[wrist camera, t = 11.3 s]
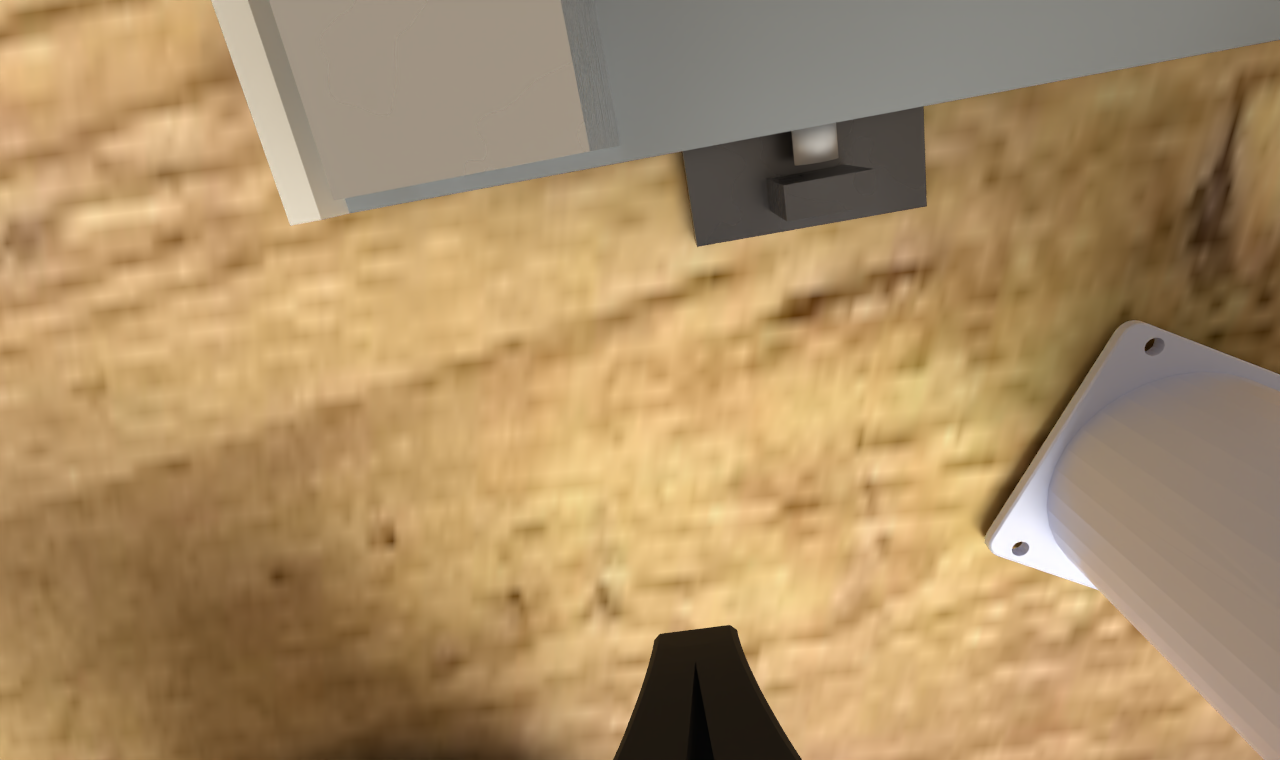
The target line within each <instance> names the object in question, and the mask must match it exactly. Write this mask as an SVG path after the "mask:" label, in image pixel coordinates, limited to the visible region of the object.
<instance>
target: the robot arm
mask: <svg viewBox="0 0 1280 760" xmlns="http://www.w3.org/2000/svg"><path fill="white" fill-rule="evenodd" d="M1153 338H1154V340H1155V341H1154V344H1153V346H1152V347H1151V348H1150V349H1149V350H1147V351H1145V349H1144V348H1145V345H1146V343H1147V342H1148V341H1149V340H1150V339H1153ZM1018 542H1022V544H1021V545H1020V546H1019V547H1017V548H1014V549H1012V547H1013V546H1014V545H1015V544H1016V543H1018ZM985 544H986V545H987V547H988V548H989V549H990V551H991V552H992V553H993V554H995V555H997V556H999V557H1002V558H1005V559H1008V560H1011V561H1014V562H1017V563H1020V564H1023V565H1026V566H1029V567H1032V568H1035V569H1038V570H1041V571H1044V572H1046V573H1049V574H1052V575H1055V576H1058V577H1061V578H1064V579H1067V580H1070V581H1073V582H1076V583H1079V584H1082V585H1085V586H1088V587H1091V588H1094V589H1097V590H1099V591H1100V592H1101V593H1102V594H1103V595H1104V596H1105V597H1106V598H1107V599H1108V600H1109V601H1110V602H1111V603H1112V604H1113V605H1114V606H1115V607H1116V608H1117V609H1118V610H1119V611H1120V612H1121V613H1122V614H1123V615H1124V616H1125V618H1126V619H1127V620H1128V621H1129V622H1130V623H1131V624H1132V625H1133V626H1134V627H1135V628H1136V629H1137V630H1138V631H1139V632H1140V633H1141V634H1142V635H1143V636H1144V637H1145V638H1146V639H1147V640H1148V641H1149V642H1150V643H1151V644H1152V645H1153V646H1154V647H1155V648H1156V649H1157V650H1158V651H1159V652H1160V653H1161V654H1162V655H1163V656H1164V657H1165V659H1166V660H1167V661H1168V662H1169V663H1170V664H1171V665H1172V666H1173V667H1174V668H1175V669H1176V670H1177V671H1178V672H1179V673H1180V674H1181V675H1182V676H1183V677H1184V678H1185V679H1186V680H1187V681H1188V682H1189V683H1190V684H1191V685H1192V686H1193V687H1194V688H1195V689H1196V690H1197V691H1198V692H1199V693H1200V694H1201V695H1202V696H1203V697H1204V698H1205V700H1206V701H1207V702H1208V703H1209V704H1210V705H1211V706H1212V707H1213V708H1214V709H1215V710H1216V711H1217V712H1218V713H1219V714H1220V715H1221V716H1222V717H1223V718H1224V719H1225V720H1226V721H1227V722H1228V723H1229V724H1230V725H1231V726H1232V727H1233V728H1234V729H1235V730H1236V731H1237V732H1238V733H1239V734H1240V735H1241V736H1242V737H1243V738H1244V739H1245V741H1246V742H1247V743H1248V744H1249V745H1250V746H1251V747H1252V748H1253V749H1254V750H1255V751H1256V752H1257V753H1258V754H1259V755H1260V756H1261V757H1262V758H1263V759H1264V760H1280V374H1277V373H1275V372H1272V371H1270V370H1267V369H1264V368H1262V367H1259V366H1257V365H1254V364H1251V363H1249V362H1246V361H1244V360H1241V359H1238V358H1236V357H1233V356H1231V355H1228V354H1225V353H1223V352H1220V351H1218V350H1215V349H1212V348H1210V347H1207V346H1205V345H1202V344H1199V343H1197V342H1194V341H1192V340H1189V339H1186V338H1184V337H1181V336H1179V335H1176V334H1173V333H1171V332H1168V331H1166V330H1163V329H1160V328H1158V327H1155V326H1153V325H1150V324H1147V323H1145V322H1142V321H1138V320H1131V321H1127V322H1125V323H1123V324H1122V325H1120V326H1119V327H1118V328H1117V329H1116V330H1115V332H1114V333H1113V335H1112V336H1111V338H1110V339H1109V341H1108V343H1107V344H1106V346H1105V347H1104V349H1103V351H1102V352H1101V354H1100V355H1099V357H1098V358H1097V360H1096V362H1095V363H1094V365H1093V366H1092V368H1091V369H1090V371H1089V373H1088V374H1087V376H1086V377H1085V379H1084V380H1083V382H1082V384H1081V385H1080V387H1079V388H1078V390H1077V391H1076V393H1075V395H1074V396H1073V398H1072V399H1071V401H1070V402H1069V404H1068V406H1067V407H1066V409H1065V410H1064V412H1063V413H1062V415H1061V417H1060V418H1059V420H1058V421H1057V423H1056V424H1055V426H1054V428H1053V429H1052V431H1051V432H1050V434H1049V435H1048V437H1047V439H1046V440H1045V442H1044V443H1043V445H1042V446H1041V448H1040V450H1039V451H1038V453H1037V454H1036V456H1035V457H1034V459H1033V461H1032V462H1031V464H1030V465H1029V467H1028V468H1027V470H1026V472H1025V473H1024V475H1023V476H1022V478H1021V479H1020V481H1019V483H1018V484H1017V486H1016V487H1015V489H1014V490H1013V492H1012V494H1011V495H1010V497H1009V498H1008V500H1007V501H1006V503H1005V505H1004V506H1003V508H1002V509H1001V511H1000V512H999V514H998V516H997V517H996V519H995V520H994V522H993V523H992V525H991V527H990V528H989V530H988V531H987V533H986V536H985ZM613 760H802V759H801V758H800V756H799V755H798V753H797V752H796V750H795V749H794V747H793V745H792V744H791V742H790V741H789V739H788V737H787V736H786V734H785V732H784V731H783V729H782V727H781V726H780V724H779V722H778V720H777V719H776V717H775V715H774V713H773V712H772V710H771V708H770V706H769V705H768V703H767V701H766V699H765V697H764V695H763V694H762V692H761V690H760V688H759V686H758V684H757V682H756V680H755V677H754V675H753V673H752V671H751V669H750V667H749V664H748V662H747V660H746V657H745V655H744V652H743V650H742V647H741V644H740V640H739V637H738V632H737V630H736V629H735V628H733V627H732V626H730V625H727V626H719V627H711V628H703V629H695V630H688V631H680V632H672V633H664V634H660V635H659V636H658V637H657V638H656V639H655V640H654V645H653V650H652V654H651V658H650V662H649V666H648V669H647V672H646V676H645V679H644V682H643V685H642V688H641V691H640V694H639V697H638V700H637V702H636V705H635V708H634V710H633V713H632V715H631V718H630V721H629V723H628V726H627V728H626V731H625V734H624V736H623V739H622V741H621V743H620V746H619V748H618V750H617V752H616V755H615V757H614V759H613Z"/></svg>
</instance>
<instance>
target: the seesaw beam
mask: <svg viewBox="0 0 1280 760" xmlns="http://www.w3.org/2000/svg"><path fill="white" fill-rule="evenodd" d="M211 1H212V4H213V7H214V10H215V13H216V15H217V18H218V21H219V24H220V27H221V30H222V33H223V35H224V38H225V41H226V44H227V47H228V50H229V52H230V55H231V58H232V61H233V64H234V67H235V70H236V72H237V75H238V78H239V81H240V84H241V87H242V89H243V92H244V95H245V98H246V101H247V104H248V106H249V109H250V112H251V115H252V118H253V121H254V124H255V126H256V129H257V132H258V135H259V138H260V141H261V143H262V146H263V149H264V152H265V155H266V158H267V161H268V163H269V166H270V169H271V172H272V175H273V178H274V180H275V183H276V186H277V189H278V192H279V195H280V197H281V200H282V203H283V206H284V209H285V212H286V215H287V217H288V220H289V223H290V226H291V225H296V224H302V223H307V222H312V221H318V220H323V219H327V218H331V217H336V216H340V215H344V214H349V213H354V212H359V211H365V210H370V209H375V208H381V207H386V206H391V205H397V204H402V203H407V202H413V201H418V200H423V199H429V198H434V197H440V196H445V195H450V194H456V193H461V192H466V191H472V190H477V189H482V188H488V187H493V186H499V185H504V184H509V183H515V182H520V181H525V180H531V179H536V178H541V177H547V176H552V175H558V174H563V173H568V172H574V171H579V170H584V169H590V168H595V167H600V166H606V165H611V164H616V163H622V162H627V161H633V160H638V159H643V158H649V157H654V156H659V155H665V154H670V153H675V152H681V151H686V150H692V149H697V148H702V147H708V146H713V145H718V144H724V143H729V142H734V141H740V140H745V139H751V138H756V137H761V136H767V135H772V134H777V133H783V132H788V131H791V132H792V143H793V153H794V164H795V165H807V164H814V163H820V162H825V161H830V160H834V159H837V158H839V156H838V143H837V129H836V122H842V121H847V120H852V119H858V118H863V117H868V116H874V115H879V114H885V113H890V112H895V111H901V110H906V109H911V108H917V107H922V106H927V105H933V104H938V103H944V102H949V101H954V100H960V99H965V98H970V97H976V96H981V95H986V94H992V93H997V92H1002V91H1008V90H1013V89H1019V88H1024V87H1029V86H1035V85H1040V84H1045V83H1051V82H1056V81H1061V80H1067V79H1072V78H1078V77H1083V76H1088V75H1094V74H1099V73H1104V72H1110V71H1115V70H1120V69H1126V68H1131V67H1137V66H1142V65H1147V64H1153V63H1158V62H1163V61H1169V60H1174V59H1179V58H1185V57H1190V56H1195V55H1201V54H1206V53H1212V52H1217V51H1222V50H1228V49H1233V48H1238V47H1244V46H1249V45H1254V44H1260V43H1265V42H1271V41H1276V40H1280V0H594V1H595V7H596V12H597V18H598V23H599V29H600V35H601V40H602V46H603V51H604V57H605V62H606V68H607V74H608V79H609V85H610V90H611V96H612V101H613V107H614V113H615V118H616V124H617V129H618V135H619V140H620V146H616V147H611V148H605V149H600V150H595V151H590V152H584V153H579V154H574V155H569V156H564V157H558V158H553V159H548V160H543V161H538V162H532V163H527V164H522V165H517V166H511V167H506V168H501V169H496V170H491V171H485V172H480V173H475V174H470V175H465V176H459V177H454V178H449V179H444V180H438V181H433V182H428V183H423V184H418V185H412V186H407V187H402V188H397V189H391V190H386V191H381V192H376V193H370V194H365V195H360V196H355V197H350V198H344V199H339V200H334V198H333V195H332V192H331V189H330V186H329V183H328V180H327V177H326V174H325V171H324V168H323V165H322V162H321V158H320V155H319V152H318V149H317V146H316V143H315V140H314V137H313V134H312V131H311V128H310V125H309V122H308V119H307V116H306V112H305V109H304V106H303V103H302V100H301V97H300V94H299V91H298V88H297V85H296V82H295V79H294V76H293V73H292V70H291V66H290V63H289V60H288V57H287V54H286V51H285V48H284V45H283V42H282V39H281V36H280V33H279V30H278V27H277V24H276V20H275V17H274V14H273V11H272V8H271V5H270V2H269V0H211Z"/></svg>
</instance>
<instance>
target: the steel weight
mask: <svg viewBox="0 0 1280 760" xmlns="http://www.w3.org/2000/svg"><path fill="white" fill-rule="evenodd" d="M269 2H270V5H271V8H272V11H273V14H274V17H275V20H276V24H277V27H278V30H279V33H280V36H281V39H282V42H283V45H284V48H285V51H286V54H287V57H288V60H289V63H290V66H291V70H292V73H293V76H294V79H295V82H296V85H297V88H298V91H299V94H300V97H301V100H302V103H303V106H304V109H305V112H306V116H307V119H308V122H309V125H310V128H311V131H312V134H313V137H314V140H315V143H316V146H317V149H318V152H319V155H320V158H321V162H322V165H323V168H324V171H325V174H326V177H327V180H328V183H329V186H330V189H331V192H332V195H333V198H334V200H339V199H344V198H350V197H355V196H360V195H365V194H370V193H376V192H381V191H386V190H391V189H397V188H402V187H407V186H412V185H418V184H423V183H428V182H433V181H438V180H444V179H449V178H454V177H459V176H465V175H470V174H475V173H480V172H485V171H491V170H496V169H501V168H506V167H511V166H517V165H522V164H527V163H532V162H538V161H543V160H548V159H553V158H558V157H564V156H569V155H574V154H579V153H584V152H590V151H595V150H600V149H605V148H611V147H616V146H620V140H619V135H618V129H617V124H616V118H615V113H614V107H613V101H612V96H611V90H610V85H609V79H608V74H607V68H606V62H605V57H604V51H603V46H602V40H601V35H600V29H599V23H598V18H597V12H596V7H595V1H594V0H269Z"/></svg>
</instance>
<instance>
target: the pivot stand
mask: <svg viewBox="0 0 1280 760" xmlns="http://www.w3.org/2000/svg"><path fill="white" fill-rule="evenodd" d="M836 129H837V143H838V156H839V158H837V159H834V160H830V161H825V162H820V163H814V164H807V165H795V164H794V153H793V143H792V132H791V131H788V132H783V133H777V134H772V135H767V136H761V137H756V138H751V139H745V140H740V141H734V142H729V143H724V144H718V145H713V146H708V147H702V148H697V149H692V150H686V151H682V154H683V161H684V167H685V174H686V181H687V187H688V194H689V201H690V207H691V214H692V221H693V227H694V234H695V241H696V245H697V247H698V246H704V245H709V244H715V243H721V242H726V241H732V240H738V239H743V238H749V237H755V236H760V235H766V234H772V233H777V232H783V231H789V230H794V229H800V228H806V227H811V226H817V225H823V224H828V223H834V222H840V221H845V220H851V219H857V218H862V217H868V216H874V215H879V214H885V213H891V212H896V211H902V210H908V209H913V208H919V207H925V206H927V202H926V172H925V141H924V110H923V106H922V107H917V108H911V109H906V110H901V111H895V112H890V113H885V114H879V115H874V116H868V117H863V118H858V119H852V120H847V121H842V122H836Z"/></svg>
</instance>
